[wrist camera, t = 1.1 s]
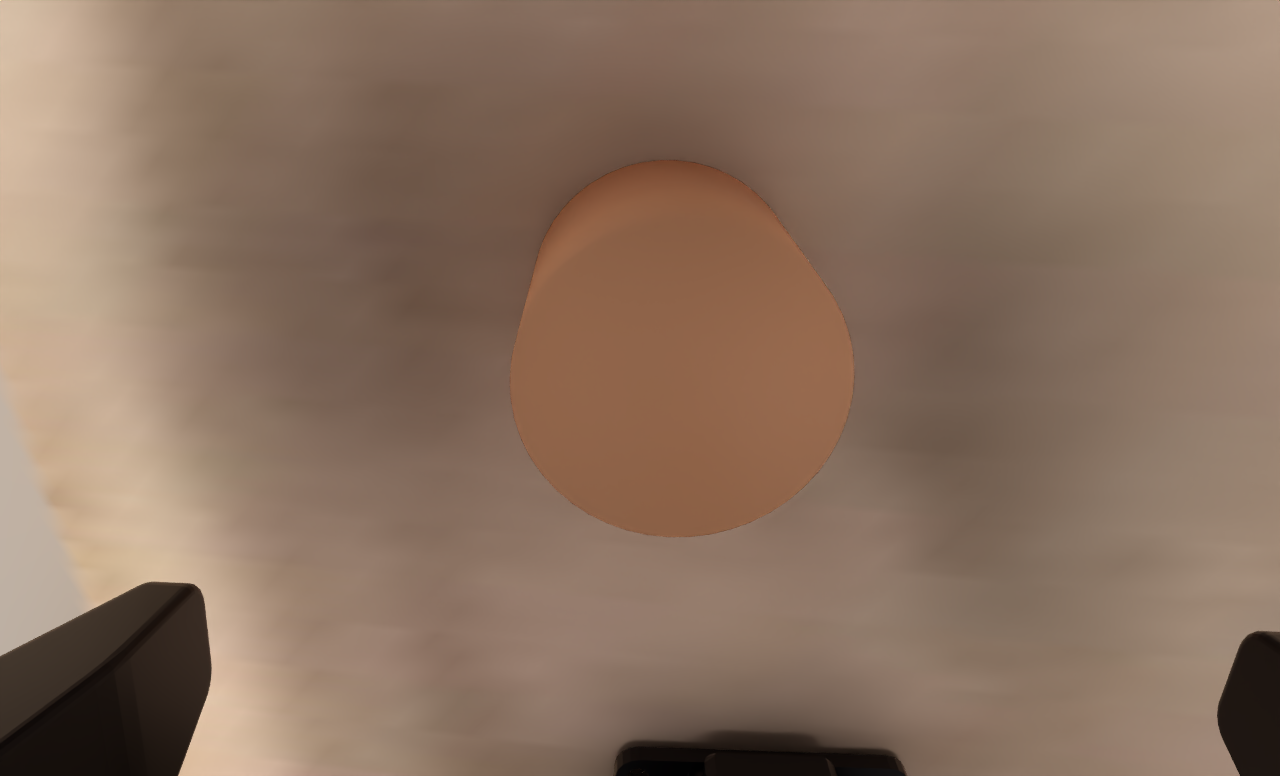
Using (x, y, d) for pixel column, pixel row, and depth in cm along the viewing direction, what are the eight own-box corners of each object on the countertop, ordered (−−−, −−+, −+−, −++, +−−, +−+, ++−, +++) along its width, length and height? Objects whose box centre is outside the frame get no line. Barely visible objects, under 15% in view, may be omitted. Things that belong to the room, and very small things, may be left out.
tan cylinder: (779, 420, 19) (828, 544, 15) (528, 406, 19) (506, 529, 14) (814, 169, 17) (880, 229, 13) (537, 150, 17) (514, 205, 13)
